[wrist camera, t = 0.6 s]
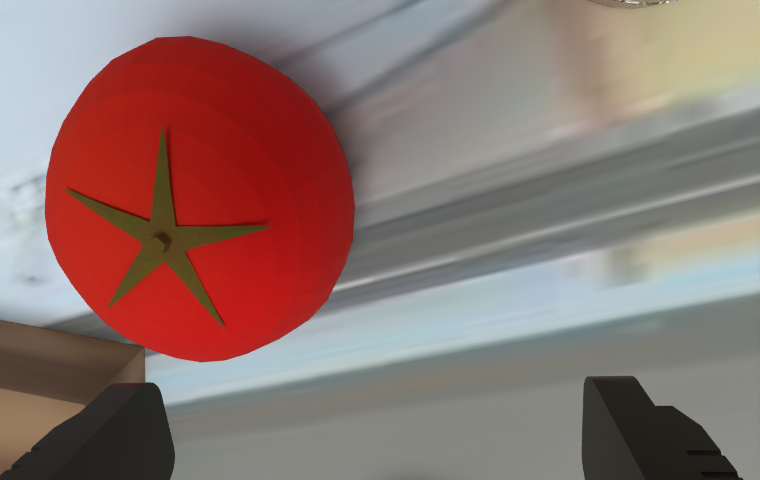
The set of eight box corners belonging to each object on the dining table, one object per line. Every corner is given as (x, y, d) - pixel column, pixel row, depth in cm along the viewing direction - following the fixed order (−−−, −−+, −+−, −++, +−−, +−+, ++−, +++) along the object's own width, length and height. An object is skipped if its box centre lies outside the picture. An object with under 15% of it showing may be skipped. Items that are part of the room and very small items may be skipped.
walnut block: (-30, 311, 33) (-127, 363, 27) (146, 345, 32) (85, 405, 26) (-8, 455, 37) (-88, 525, 31) (149, 487, 36) (96, 565, 31)
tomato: (342, 323, 30) (297, 450, 20) (135, 274, 30) (-9, 376, 20) (392, 74, 25) (364, 82, 15) (143, 20, 25) (-42, -7, 15)
